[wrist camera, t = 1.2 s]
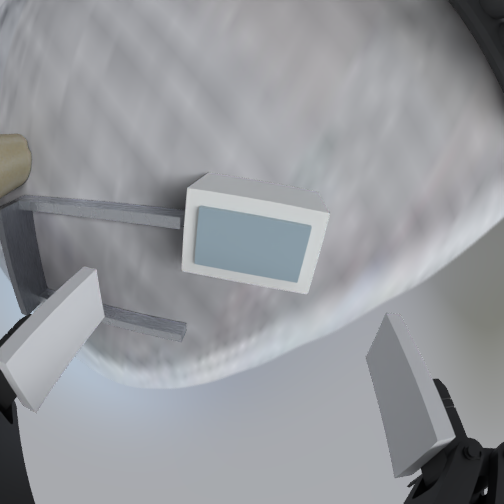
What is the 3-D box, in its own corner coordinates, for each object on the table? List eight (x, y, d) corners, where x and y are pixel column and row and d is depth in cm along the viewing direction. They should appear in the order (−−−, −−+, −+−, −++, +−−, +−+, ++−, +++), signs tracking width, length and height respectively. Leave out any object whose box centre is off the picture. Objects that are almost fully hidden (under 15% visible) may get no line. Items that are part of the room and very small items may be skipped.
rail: (24, 195, 25) (-5, 209, 20) (187, 210, 24) (167, 231, 20) (43, 292, 31) (21, 313, 26) (186, 330, 30) (173, 362, 26)
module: (209, 171, 23) (185, 189, 17) (318, 191, 23) (331, 215, 17) (201, 238, 25) (179, 273, 20) (302, 256, 25) (307, 297, 20)
